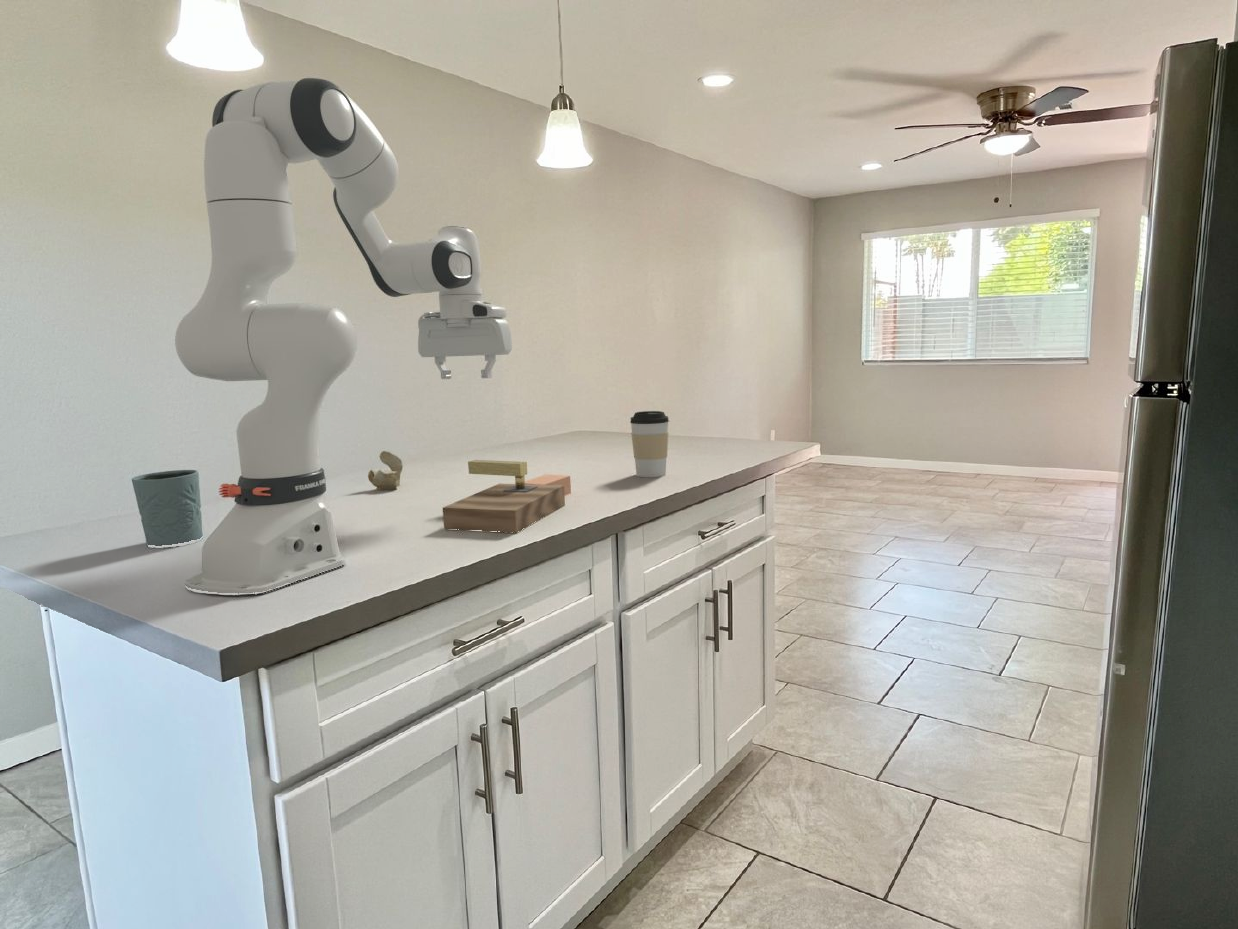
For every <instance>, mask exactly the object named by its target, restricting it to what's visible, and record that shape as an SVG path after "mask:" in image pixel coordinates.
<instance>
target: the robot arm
mask: <svg viewBox="0 0 1238 929" xmlns="http://www.w3.org/2000/svg"><path fill="white" fill-rule="evenodd" d="M211 119H212V120H211V122H212V123H211V124H212V125H211V126H212V127H211V128H210V129H209V131H208V132H207V134H206V137H205V144H204V158H203V159H204V161H203V162H204V164H203V166H204V167H203V168H204V170H203V171H204V172H203V174H204V175H203V177H204V191H205V200H206V207H207V208H206V209H207V214H208V215H207V216H208V225H209V232H210V234H209V235H210V247H211V264H210V270H209V271H210V272H209V276H208V280H207V283H206V286H205V288H204V291H203V294H202V295H201V297H200V298H199V300H198V301H197V303H196V305H195V306H193V308H192V309H191V310H190V311H189V312H188V313H187V314H185V315H184V316H183V317H182V319H181V320H180V322H179V323H178V326H177V328H176V331H175V335H174V337H175V338H174V346H175V350H176V354H177V356H178V359H179V360H180V362H181V364H182V365H183V366H184V368H185V369H187V371H188V372H189V373H190V374H192V375H193V376H194V377H195V376H196V377H199V378H205V379H209V380H216V381H222V382H247V381H248V382H250V381H254V382H255V381H267V392H266V396H265V398H264V399H263V401H262V403H261V404H260V405H257V406H256V407H253V408H252V409H251V410H249V411H248V412H246V414H244V415H243V416H242V417H241V419H240V420H239V422H238V424H237V427H236V440H237V450H238V456H239V458H238V459H239V464H240V472H241V474H240V476H239V477H238V481H237V484H235V483H231V484H230V483H222V484H220V486H219V488H218V490H219V491H218V493H219V496H221V498H224V499H225V498H232V499H233V500H234V503H235V505H234V506H233V507H232V508H231V510H230V511H229V512H228V513H227V514H226V516H225V517H224V519H223V520H222V521H221V522H220V524H218V525H217V527H216V528H215V529H214V530H213V532H212V533H211V534H210V535H209V536H208V537H207V538H206V540H205V541H204V542H203V546H202V551H201V552H202V553H201V570H202V572H201V573H198V574H197V575H195V576H193V577H190V578H188V579H187V580H185V581H184V586H185V585H186V586H187V587H188V588H191V589H196V590H201V591H208V592H217V593H238V594H239V593H253V592H254V593H255V592H263V591H267V590H269V589H274V588H276V587H278V586H281V585H284V584H286V583H292V582H295V581H296V580H301V579H303V578H305V577H310V576H313V575H315V574H318V573H320V572H323V571H326V570H330V569H332V568H335V567H338V566H341V565H343V564H345V565H346V559H345V556H343V555H342V553H341V551H340V550H339V544H338V539H337V534H336V530H335V523H334V519H333V514H332V511H331V509H330V508H329V506H328V503H327V501H326V497H325V493H326V491H327V478H326V476H325V469H324V468H322V466H321V458H320V456H321V455H320V442H319V441H320V440H319V421H320V420H319V419H320V412H321V408H322V406H323V405H322V404H323V402H324V398H325V397H326V394H327V393H328V390H329V389H330V388H331V386H332V385H333V383H335V381H336V380H337V379H338V378H339V377H340V376H341V375H342V374H343V373H345V372H346V371H347V370H348V368H349V367H350V366H351V365H352V363H353V362H354V359H355V356H356V352H357V349H358V338H357V334H356V333H357V332H356V329H355V327H354V325H353V323H352V321H351V320H350V318H349V316H348V315H347V314H346V313H344V311H342V309H340V308H338V307H336V306H335V307H334V306H329V305H323V304H319V303H318V304H317V303H311V302H300V303H299V302H296V303H293V302H292V303H291V302H290V303H274V304H273V303H270V304H267V297H268V292H269V290H270V288H271V286H272V284H273V282H274V281H275V280H276V279H278V278H279V277H281V276H283V275H285V274H286V273H288V272H289V271H290V270H291V269H292V267H294V264H295V263H296V260H297V257H298V247H297V237H296V227H295V219H294V211H293V210H294V209H293V205H292V204H293V200H292V195H291V190H290V183H289V179H288V174H287V168H288V165H289V164H291V165H292V164H293V165H294V164H301V163H305V162H310V161H314V160H316V161H317V162H318V163H319V165H320V166H321V167H322V169H323V170H324V171H325V174H327V175H328V177H329V178H330V180H331V182H332V184H333V185H334V188H333V191H332V192H333V194H332V197H333V203H334V206H335V208H336V211H337V213H338V215H339V216H340V219H341V220H342V222H343V224H344V226H345V228H346V229H347V231H348V233H349V234H350V236H351V238H352V239H353V241H354V243H355V245H356V246H357V248H358V249H359V251H360V253H361V255H362V256H363V258H364V260H365V261H366V264H367V266H368V269H369V271H370V274H371V275H370V276H372V277H371V278H372V279H373V282H374V283H375V285H376V286H377V287H378V288H379V290H380V291H382V292H383V293H384V294H385V295H387V296H389V297H392V298H398V297H403V296H408V295H416V294H430V293H437V292H438V301H439V311H434V312H424V313H423V314H422V315H421V316H420V317H419V319H418V321H417V323H418V338H417V350H418V351H417V352H418V354H419V356H420V357H421V358H434V364H435V365H436V367H437V369H438V370H439V371H440V379H441V380H451V379H452V370H449V369H448V368H447V366H446V365H445V363H446V362H447V358H446V357H472V356H475V357H477V356H484V361H485V362H486V365H485V366H484V368H483V369H480V373H481V375H480V377H481V378H482V379H491V378H492V369H493V368H494V365H495V364H496V361H497V357H496V356H503V355H506V356H507V355H509V354H510V352H511V351H512V348H513V345H512V344H513V343H512V334H511V328H510V327H511V326H510V325H509V323H508V321H507V319H505V318H506V317H507V308H506V307H503V306H501V305H497V304H494V303H490V302H486V301H484V294H483V290H482V287H481V286H482V285H481V279H482V278H481V277H482V273H483V272H482V262H481V261H482V260H481V259H482V258H481V253H480V252H481V251H480V247H479V242H478V238H477V235H476V234H475V232H474V231H473V230H470V229H469V228H466V227H464V226H463V227H462V226H458V225H455V226H454V225H453V226H452V225H450V226H448V225H447V226H444V227H441V228H440V229H438V232H437V235H436V236H435V237H433V238H430V239H428V240H424V241H417V242H415V241H414V242H405V243H403V242H396V241H393V240H392V239H389V238H388V236H387V235H386V234H387V233H386V232H385V231H384V229H383V227H382V225H381V223H380V221H379V220H378V218H377V216H376V213H375V212H374V210H376V209H378V208H380V207H382V205H383V204H385V202H387V201H388V199H389V198H391V196H392V195H393V193H394V191H395V189H396V188H397V184H398V181H399V173H400V171H399V170H400V169H399V164H398V161H397V159H396V156H395V154H394V152H393V151H392V149H391V147H390V146H389V144H388V143H387V141H386V140H385V138H384V137H383V136H382V134H381V132H380V131H379V130H378V128H377V127H376V125H375V124H374V123H373V121H372V120H371V119H370V117H368V115H367V114H366V112H364V111H363V109H362V108H361V107H360V106H359V105H358V104H357V102H355V101H354V100H353V99H352V98H351V97H350V96H349V94H347V93H346V92H345V91H343V90H342V89H341V88H340V87H339V86H338V85H336V84H335V83H333V82H332V81H330V80H327V79H324V78H319V77H318V78H316V77H304V78H302V79H299V80H286V81H285V80H284V81H268V82H264V83H260V84H256V85H253V86H250V87H247V88H245V89H237V90H233V91H231V92H228V93H227V94H226V95H223V97H221V98H220V99H219V100H218V101H217V103H216V104H215V106H214V109H213V113H212V118H211ZM341 567H342V566H341ZM330 571H331V570H330ZM318 575H319V574H318ZM313 577H314V576H313ZM310 578H311V577H310ZM301 581H302V580H301ZM295 583H296V582H295Z"/></svg>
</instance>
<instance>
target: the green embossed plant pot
mask: <svg viewBox="0 0 1238 929" xmlns="http://www.w3.org/2000/svg"><path fill="white" fill-rule="evenodd" d="M199 476H200V475H199V471H198V470H197V469H180V470H178V469H177V470H176V469H175V470H168V471H167V470H166V471H165V470H164V471H158V472H151V473H145V474H140V475H136V476H134V477H132V478H131V482H132V487H133V491H134V494H135V499H136V504H137V507H138V511H139V512H138V513H139V515H140V518H141V519H140V520H141V525H142V528H143V533H144V536H145V537H144V538H145V541H146V542H145V543H146V545H147V544H148V545H155V546H162V545H172V544H178V543H184V542H189V541H191V540H197V539H200V538H201V537H202V536H203V537H204V535H203V520H202V510H201V508H202V507H201V506H202V504H201V491H200V490H201V489H200V477H199Z"/></svg>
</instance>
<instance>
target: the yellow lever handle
mask: <svg viewBox="0 0 1238 929" xmlns="http://www.w3.org/2000/svg"><path fill="white" fill-rule="evenodd" d="M527 463H528V462H527V461H514V460H512V461H511V460H510V461H509V460H494V459H493V460H490V459H489V460H488V459H472V460H469V461H468V462H467V467H468V469H467V470H468V474H469V475H483V476H484V475H486V476H503V477H504V476H507V477H514V482H515V483H514V484H516V488H525V481H526V479H525V476H526V475H528V464H527Z"/></svg>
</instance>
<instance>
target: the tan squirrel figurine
mask: <svg viewBox="0 0 1238 929" xmlns="http://www.w3.org/2000/svg"><path fill="white" fill-rule="evenodd" d="M379 460H380V461H381V462H382V463H383V464H384V465H386V466H388V468H390V470H387V469H379V470H377V471H376V470H374V469H373V468H372V469H370V470H369V471H368V475H367V477H368V481H369V482H370V483H371V484H372V485H373V487H376V488H375V491H382V490H396V491H397V490H398V487H400V486H401V484H400V482H401V474H402V471H403V468H404V467H403V460H402V459H401V458H400V457H399V456H398V455H396V454H395V453H394V452H391V451H387V450H382V451H381V453H380V454H379Z"/></svg>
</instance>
